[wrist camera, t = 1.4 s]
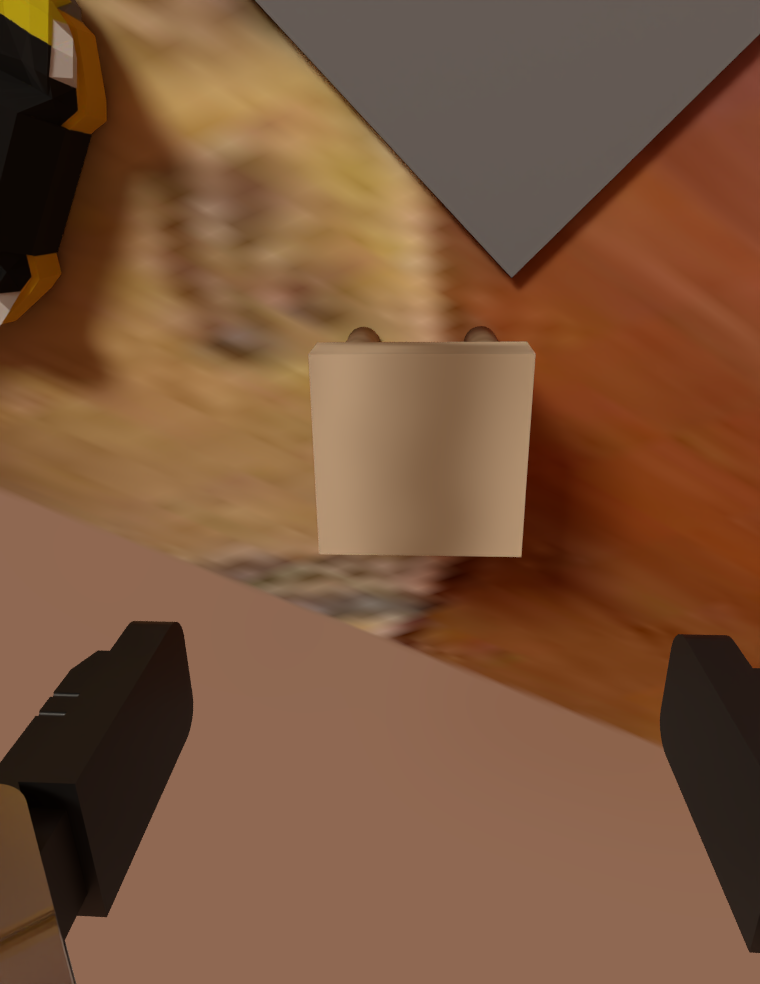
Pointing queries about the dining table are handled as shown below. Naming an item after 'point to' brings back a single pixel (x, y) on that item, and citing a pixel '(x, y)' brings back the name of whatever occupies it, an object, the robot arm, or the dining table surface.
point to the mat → (518, 93)
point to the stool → (421, 445)
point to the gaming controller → (41, 138)
